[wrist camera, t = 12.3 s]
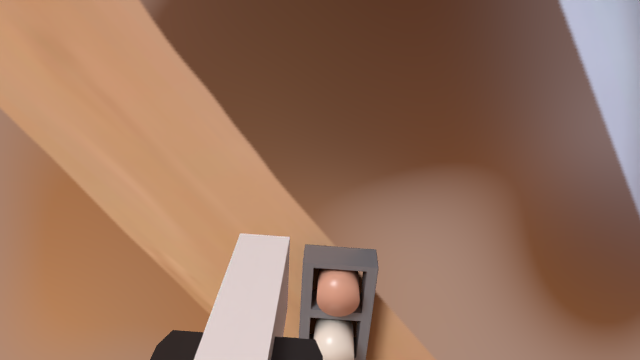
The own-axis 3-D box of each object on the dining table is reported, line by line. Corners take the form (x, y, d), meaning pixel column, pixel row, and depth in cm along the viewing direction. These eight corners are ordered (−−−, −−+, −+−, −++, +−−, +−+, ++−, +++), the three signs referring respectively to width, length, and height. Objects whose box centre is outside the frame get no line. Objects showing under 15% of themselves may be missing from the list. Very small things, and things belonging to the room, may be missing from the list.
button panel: (305, 244, 45) (302, 262, 42) (376, 249, 45) (378, 268, 42) (298, 375, 53) (295, 397, 50) (358, 380, 53) (359, 402, 50)
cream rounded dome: (315, 311, 47) (313, 340, 43) (354, 314, 47) (356, 343, 43) (313, 340, 48) (311, 371, 45) (351, 343, 48) (352, 374, 45)
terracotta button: (319, 255, 45) (317, 281, 42) (359, 258, 45) (361, 284, 42) (317, 288, 47) (315, 315, 43) (356, 290, 47) (357, 318, 43)
